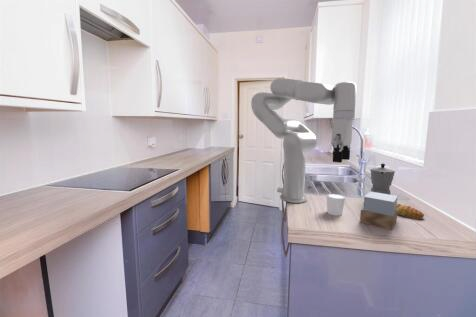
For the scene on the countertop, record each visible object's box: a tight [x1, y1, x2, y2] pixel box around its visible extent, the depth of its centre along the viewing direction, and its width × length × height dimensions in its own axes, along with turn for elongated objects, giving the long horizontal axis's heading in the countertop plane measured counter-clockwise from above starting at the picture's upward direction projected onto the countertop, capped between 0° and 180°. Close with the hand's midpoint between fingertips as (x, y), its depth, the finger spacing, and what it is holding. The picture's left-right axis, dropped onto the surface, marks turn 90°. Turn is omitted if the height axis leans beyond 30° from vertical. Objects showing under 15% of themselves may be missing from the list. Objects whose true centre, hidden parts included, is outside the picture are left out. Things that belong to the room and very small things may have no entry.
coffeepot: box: [369, 163, 396, 195], centre depth 109 cm, size 15×9×18 cm, turn 148°
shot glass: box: [326, 193, 346, 216], centre depth 95 cm, size 7×7×7 cm
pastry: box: [396, 203, 425, 220], centre depth 93 cm, size 9×7×4 cm
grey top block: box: [362, 191, 399, 216], centre depth 86 cm, size 9×9×5 cm
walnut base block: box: [359, 207, 398, 231], centre depth 87 cm, size 10×10×5 cm
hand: (341, 160), depth 92 cm, fingers open, 9 cm apart
